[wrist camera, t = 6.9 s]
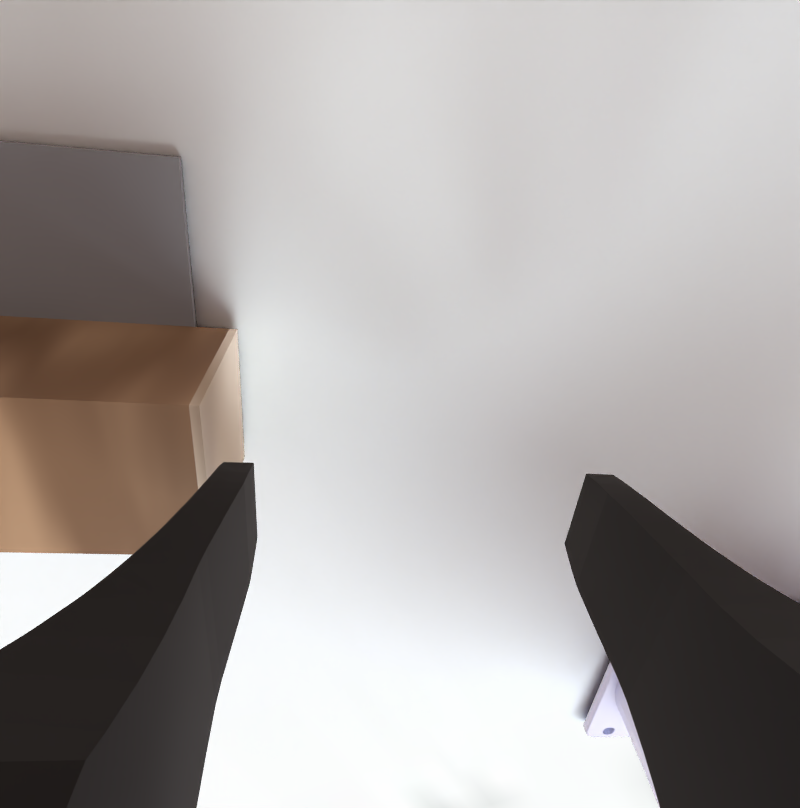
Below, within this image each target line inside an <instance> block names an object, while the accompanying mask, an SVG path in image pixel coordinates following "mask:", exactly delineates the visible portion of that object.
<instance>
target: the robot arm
mask: <svg viewBox="0 0 800 808" xmlns="http://www.w3.org/2000/svg"><path fill="white" fill-rule="evenodd" d="M256 542H257V522H256V502H255V481H254V463H241V462H223V463H222V464H221V465H219V466H218V467H217V469H216V470H215V471H214V472H213V473H212V474H211V475H210V477H209V478H208V479H207V480H206V481H205V482H204V483H203V485H202V486H201V487H200V488H199V489H198V490H197V491H196V492H195V493H194V495H193V496H192V497H191V498H190V499H189V500H188V501H187V502H186V503H185V504H184V505H183V506H182V507H181V508H180V509H179V510H178V511H177V512H176V514H175V515H174V516H173V517H172V518H171V519H170V520H169V521H168V522H167V523H166V524H165V525H164V526H163V527H162V528H161V529H160V530H159V531H158V532H157V533H155V534H154V535H153V536H152V537H151V538H150V539H149V540H148V541H147V542H146V543H145V544H144V545H142V546H141V547H140V548H139V549H138V550H137V551H136V552H135V553H134V554H133V555H132V556H131V557H129V558H128V559H127V560H126V561H125V562H124V563H122V564H121V565H120V566H119V567H118V568H116V569H115V570H114V571H113V572H112V573H110V574H109V575H108V576H107V577H106V578H104V579H103V580H102V581H100V582H99V583H98V584H97V585H95V586H94V587H93V588H91V589H90V590H89V591H88V592H86V593H85V594H84V595H82V596H81V597H79V598H78V599H77V600H75V601H74V602H72V603H71V604H69V605H68V606H67V607H65V608H64V609H62V610H61V611H59V612H58V613H56V614H55V615H53V616H52V617H50V618H49V619H47V620H46V621H44V622H43V623H42V624H40V625H39V626H37V627H36V628H34V629H33V630H31V631H30V632H28V633H26V634H25V635H23V636H22V637H20V638H18V639H17V640H15V641H13V642H12V643H10V644H9V645H7V646H5V647H4V648H2V649H0V808H196V807H197V801H198V796H199V790H200V785H201V779H202V773H203V768H204V762H205V757H206V752H207V746H208V741H209V736H210V731H211V725H212V720H213V715H214V710H215V705H216V701H217V696H218V692H219V688H220V684H221V681H222V677H223V674H224V670H225V667H226V663H227V660H228V656H229V653H230V650H231V646H232V643H233V639H234V636H235V632H236V629H237V626H238V622H239V619H240V615H241V612H242V608H243V605H244V601H245V598H246V594H247V591H248V587H249V584H250V579H251V573H252V567H253V561H254V555H255V549H256ZM565 546H566V550H567V554H568V558H569V561H570V565H571V569H572V572H573V575H574V578H575V582H576V585H577V587H578V590H579V592H580V595H581V597H582V599H583V602H584V604H585V606H586V608H587V611H588V613H589V615H590V618H591V620H592V622H593V624H594V627H595V629H596V631H597V633H598V636H599V638H600V640H601V642H602V645H603V647H604V649H605V651H606V654H607V656H608V658H609V660H610V663H609V665H608V668H607V670H606V673H605V675H604V677H603V680H602V682H601V684H600V687H599V689H598V691H597V694H596V696H595V698H594V701H593V703H592V705H591V708H590V710H589V712H588V715H587V717H586V719H585V722H584V729H585V731H586V734H587V735H589V736H591V737H630V738H631V741H632V743H633V745H634V748H635V750H636V753H637V755H638V757H639V760H640V762H641V765H642V767H643V769H644V772H645V774H646V776H647V779H648V781H649V784H650V786H651V788H652V791H653V793H654V795H655V798H656V800H657V803H658V805H659V807H660V808H800V604H799V603H797V602H795V601H793V600H792V599H790V598H788V597H787V596H785V595H783V594H782V593H780V592H778V591H777V590H775V589H773V588H772V587H770V586H768V585H767V584H765V583H763V582H762V581H760V580H759V579H757V578H755V577H754V576H752V575H751V574H749V573H748V572H746V571H745V570H743V569H742V568H740V567H739V566H737V565H736V564H734V563H733V562H731V561H730V560H728V559H727V558H725V557H724V556H723V555H721V554H720V553H718V552H717V551H715V550H714V549H712V548H711V547H710V546H708V545H707V544H705V543H704V542H703V541H701V540H700V539H699V538H697V537H696V536H694V535H693V534H692V533H690V532H689V531H688V530H686V529H685V528H684V527H682V526H681V525H680V524H678V523H677V522H676V521H674V520H673V519H672V518H670V517H669V516H668V515H667V514H665V513H664V512H663V511H661V510H660V509H659V508H657V507H656V506H655V505H654V504H652V503H651V502H650V501H648V500H647V499H646V498H644V497H643V496H642V495H640V494H639V493H638V492H636V491H635V490H634V489H632V488H631V487H630V486H628V485H627V484H626V483H624V482H623V481H621V480H620V479H618V478H617V477H615V476H614V475H603V474H586V476H585V480H584V483H583V486H582V489H581V493H580V496H579V499H578V502H577V506H576V509H575V512H574V515H573V519H572V522H571V525H570V528H569V532H568V535H567V538H566V541H565Z"/></svg>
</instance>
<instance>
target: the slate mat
mask: <svg viewBox="0 0 800 808" xmlns="http://www.w3.org/2000/svg"><path fill="white" fill-rule="evenodd" d="M0 316H13V317H31V318H48V319H66V320H83V321H101V322H119V323H136V324H154V325H171V326H189V327H197V325H196V315H195V304H194V293H193V282H192V271H191V260H190V250H189V239H188V228H187V217H186V206H185V195H184V184H183V174H182V163H181V157H176V156H165V155H154V154H143V153H132V152H120V151H109V150H98V149H87V148H76V147H64V146H53V145H42V144H31V143H20V142H8V141H0ZM83 554H85V553H83Z"/></svg>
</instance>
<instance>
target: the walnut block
mask: <svg viewBox="0 0 800 808" xmlns="http://www.w3.org/2000/svg"><path fill="white" fill-rule="evenodd" d="M244 457H245V455H244V438H243V420H242V403H241V385H240V368H239V350H238V333H237V329H224V328H207V327H189V326H171V325H154V324H136V323H119V322H101V321H83V320H66V319H48V318H31V317H13V316H0V552H23V553H85V554H134V553H135V552H136V551H137V550H138V549H139V548H140V547H141V546H142V545H144V544H145V543H146V542H147V541H148V540H149V539H150V538H151V537H152V536H153V535H154V534H155V533H157V532H158V531H159V530H160V529H161V528H162V527H163V526H164V525H165V524H166V523H167V522H168V521H169V520H170V519H171V518H172V517H173V516H174V515H175V514H176V512H177V511H178V510H179V509H180V508H181V507H182V506H183V505H184V504H185V503H186V502H187V501H188V500H189V499H190V498H191V497H192V496H193V495H194V493H195V492H196V491H197V490H198V489H199V488H200V487H201V486H202V485H203V483H204V482H205V481H206V480H207V479H208V478H209V477H210V475H211V474H212V473H213V472H214V471H215V470H216V469H217V467H218V466H219V465H221V464H222V463H223V462H241V463H243V460H244Z"/></svg>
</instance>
